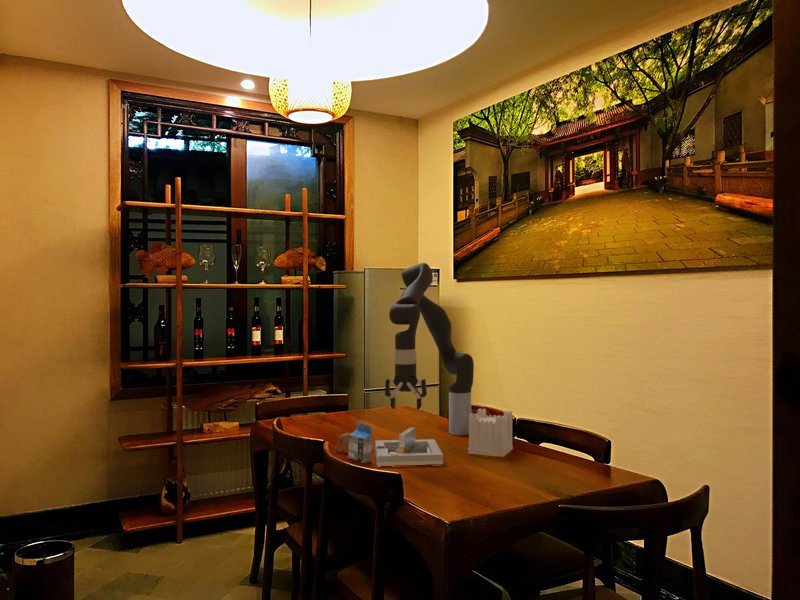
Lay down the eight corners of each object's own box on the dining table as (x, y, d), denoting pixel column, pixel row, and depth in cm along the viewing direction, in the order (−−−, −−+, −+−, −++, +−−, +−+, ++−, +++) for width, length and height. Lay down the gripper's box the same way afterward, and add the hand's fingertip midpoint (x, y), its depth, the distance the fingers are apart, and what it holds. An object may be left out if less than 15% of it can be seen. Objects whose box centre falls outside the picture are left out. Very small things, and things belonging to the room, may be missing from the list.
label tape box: (347, 458, 210) (347, 423, 210) (357, 456, 213) (357, 421, 213) (362, 463, 203) (362, 427, 203) (372, 461, 206) (372, 425, 206)
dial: (395, 446, 220) (395, 425, 220) (432, 449, 215) (432, 428, 215) (381, 455, 207) (381, 434, 207) (420, 459, 202) (420, 437, 202)
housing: (434, 448, 223) (434, 437, 223) (443, 465, 201) (443, 453, 201) (375, 450, 221) (375, 438, 221) (377, 466, 199) (377, 454, 199)
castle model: (503, 458, 209) (503, 417, 209) (462, 453, 216) (462, 414, 216) (512, 449, 221) (512, 411, 221) (473, 445, 227) (473, 408, 227)
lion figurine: (367, 446, 226) (367, 423, 226) (374, 449, 222) (374, 425, 222) (332, 452, 219) (332, 427, 219) (338, 455, 214) (338, 430, 214)
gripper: (427, 361, 209) (427, 407, 209) (387, 360, 212) (387, 406, 212) (424, 363, 202) (424, 411, 202) (383, 363, 204) (383, 410, 205)
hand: (406, 408), depth 207 cm, fingers open, 8 cm apart
